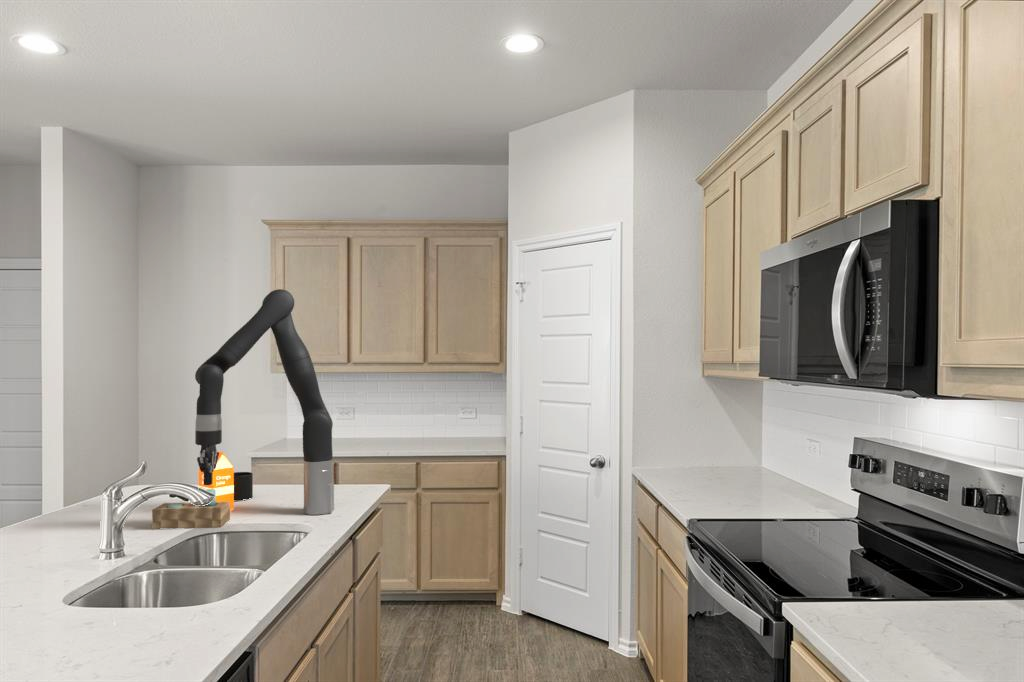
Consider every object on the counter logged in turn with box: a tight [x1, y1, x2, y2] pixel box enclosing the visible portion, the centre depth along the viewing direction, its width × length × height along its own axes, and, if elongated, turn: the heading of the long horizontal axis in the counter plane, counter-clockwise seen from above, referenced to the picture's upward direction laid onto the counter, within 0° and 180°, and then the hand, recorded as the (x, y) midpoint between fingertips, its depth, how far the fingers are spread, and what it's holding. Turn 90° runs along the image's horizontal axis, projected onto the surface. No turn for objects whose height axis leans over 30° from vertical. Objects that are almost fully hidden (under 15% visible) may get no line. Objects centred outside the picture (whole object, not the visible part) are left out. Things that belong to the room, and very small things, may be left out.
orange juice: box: [198, 451, 235, 510], centre depth 237 cm, size 8×9×20 cm
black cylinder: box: [234, 471, 254, 500], centre depth 258 cm, size 9×12×9 cm
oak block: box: [151, 501, 231, 530], centre depth 217 cm, size 20×9×6 cm, turn 95°
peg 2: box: [202, 489, 216, 507], centre depth 218 cm, size 4×4×6 cm
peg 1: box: [168, 504, 182, 508], centre depth 217 cm, size 4×4×6 cm
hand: (208, 484), depth 218 cm, fingers closed
